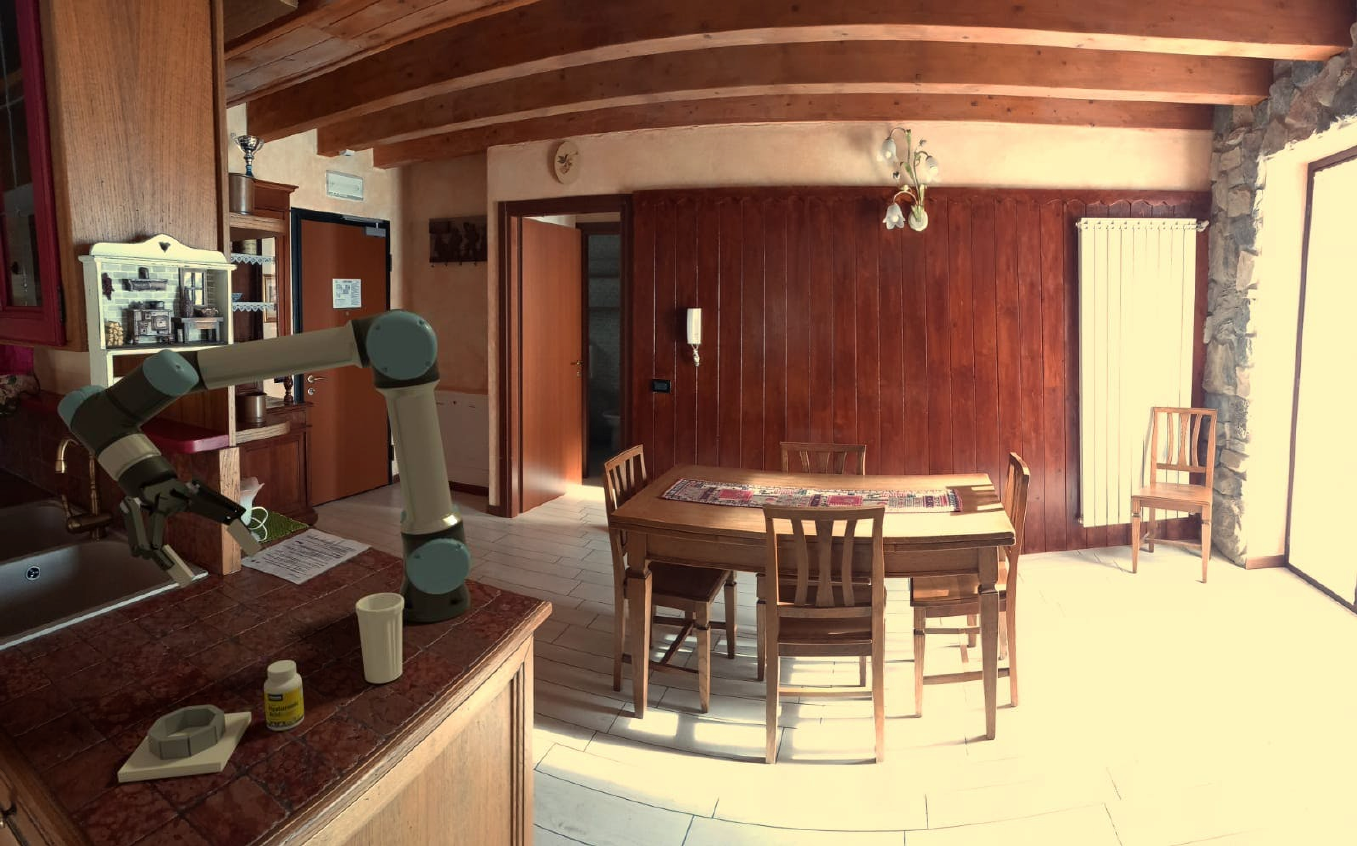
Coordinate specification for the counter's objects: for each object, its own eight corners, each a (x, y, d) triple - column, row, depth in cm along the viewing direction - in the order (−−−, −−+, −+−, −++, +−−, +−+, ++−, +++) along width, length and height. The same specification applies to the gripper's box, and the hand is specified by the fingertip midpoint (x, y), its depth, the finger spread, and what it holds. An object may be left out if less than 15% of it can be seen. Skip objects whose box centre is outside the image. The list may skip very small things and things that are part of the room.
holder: (251, 719, 120) (249, 694, 119) (221, 771, 108) (218, 743, 107) (160, 728, 117) (157, 702, 116) (118, 782, 105) (115, 753, 104)
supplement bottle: (265, 734, 116) (260, 677, 115) (268, 716, 121) (263, 660, 119) (303, 727, 118) (299, 670, 117) (305, 709, 123) (301, 654, 122)
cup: (392, 690, 130) (388, 613, 127) (349, 685, 131) (344, 608, 128) (416, 667, 137) (413, 594, 135) (376, 662, 139) (372, 590, 136)
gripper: (192, 465, 135) (269, 554, 134) (49, 503, 111) (142, 611, 110) (214, 439, 132) (292, 529, 132) (74, 472, 109) (169, 581, 108)
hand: (224, 566), depth 121 cm, fingers open, 13 cm apart
